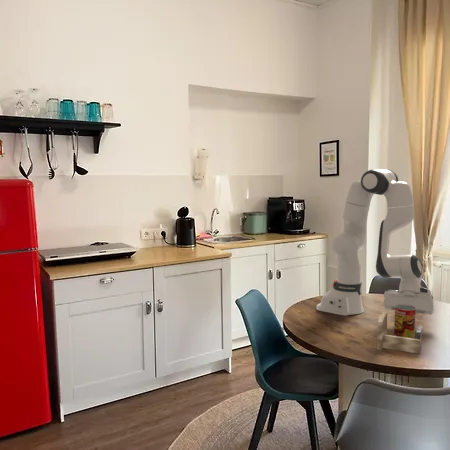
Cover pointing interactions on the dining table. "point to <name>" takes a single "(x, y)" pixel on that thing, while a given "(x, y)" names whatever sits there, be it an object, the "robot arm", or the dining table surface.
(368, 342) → the dining table surface
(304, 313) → the dining table surface
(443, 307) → the dining table surface
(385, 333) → the shelf wall
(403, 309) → the canned food
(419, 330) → the bookend
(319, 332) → the dining table surface
